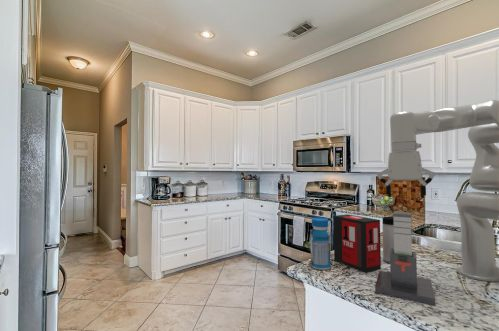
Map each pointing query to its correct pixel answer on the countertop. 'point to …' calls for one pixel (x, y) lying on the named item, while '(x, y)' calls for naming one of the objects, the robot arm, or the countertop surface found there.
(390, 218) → the travel mug
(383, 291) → the stand
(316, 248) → the beverage bottle
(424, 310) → the countertop surface
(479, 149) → the robot arm
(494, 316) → the countertop surface
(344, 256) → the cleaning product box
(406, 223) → the post
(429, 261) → the countertop surface
